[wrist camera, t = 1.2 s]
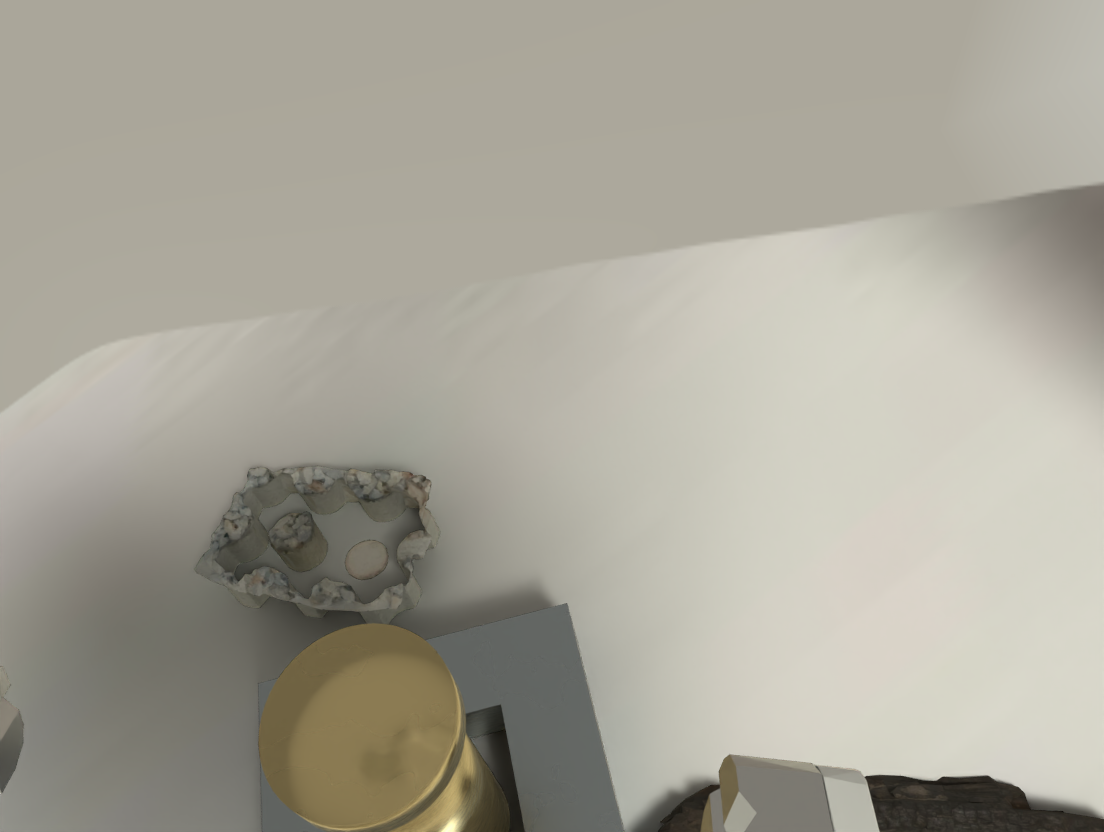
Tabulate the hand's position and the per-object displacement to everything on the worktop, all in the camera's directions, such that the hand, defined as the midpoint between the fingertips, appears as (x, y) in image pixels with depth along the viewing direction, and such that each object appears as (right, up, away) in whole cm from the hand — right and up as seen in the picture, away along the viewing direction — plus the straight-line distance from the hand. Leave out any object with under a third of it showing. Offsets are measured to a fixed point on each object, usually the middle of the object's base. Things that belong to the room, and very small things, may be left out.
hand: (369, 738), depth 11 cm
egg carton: (-9, -4, +38) cm, 39 cm away
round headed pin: (-2, -14, +29) cm, 32 cm away
